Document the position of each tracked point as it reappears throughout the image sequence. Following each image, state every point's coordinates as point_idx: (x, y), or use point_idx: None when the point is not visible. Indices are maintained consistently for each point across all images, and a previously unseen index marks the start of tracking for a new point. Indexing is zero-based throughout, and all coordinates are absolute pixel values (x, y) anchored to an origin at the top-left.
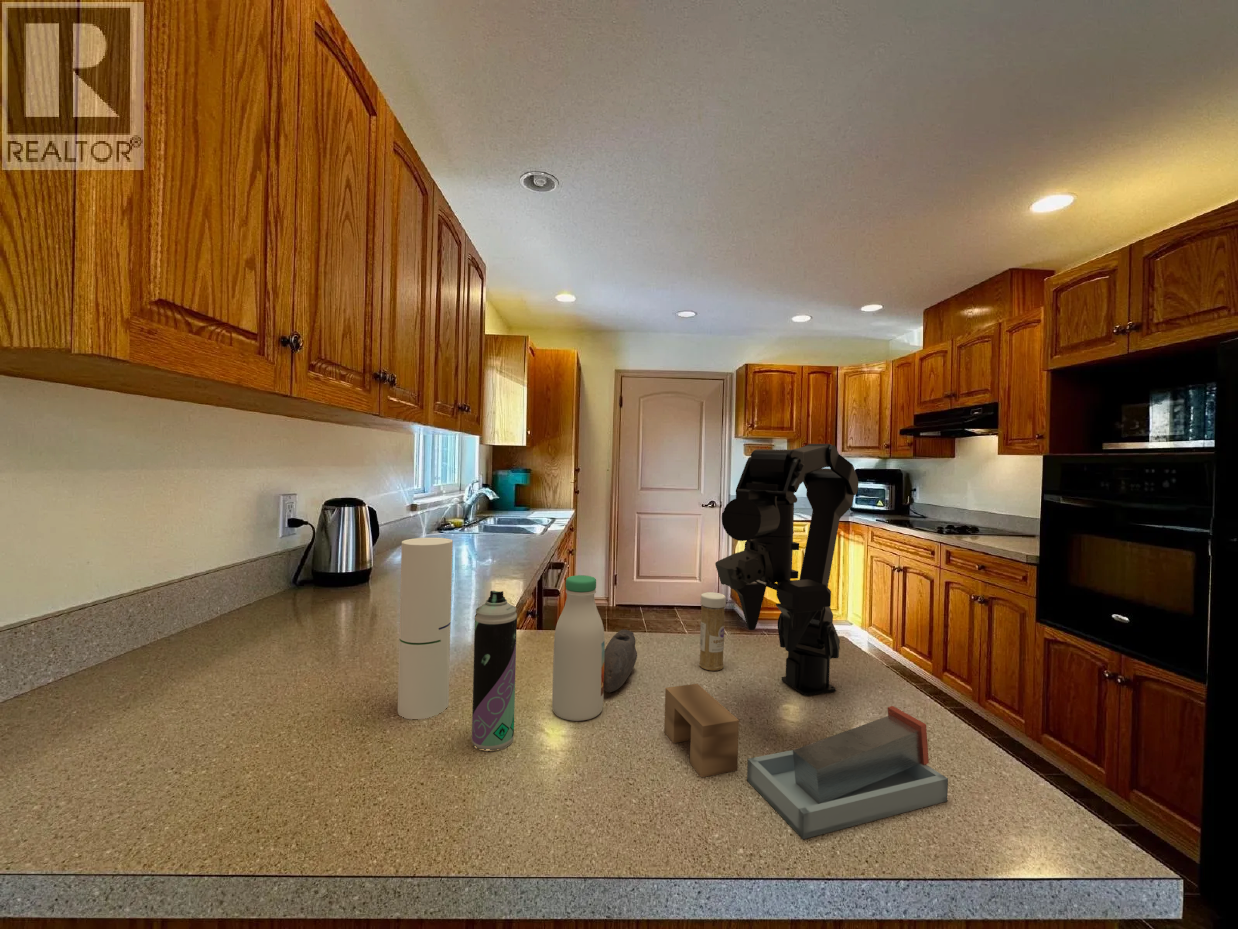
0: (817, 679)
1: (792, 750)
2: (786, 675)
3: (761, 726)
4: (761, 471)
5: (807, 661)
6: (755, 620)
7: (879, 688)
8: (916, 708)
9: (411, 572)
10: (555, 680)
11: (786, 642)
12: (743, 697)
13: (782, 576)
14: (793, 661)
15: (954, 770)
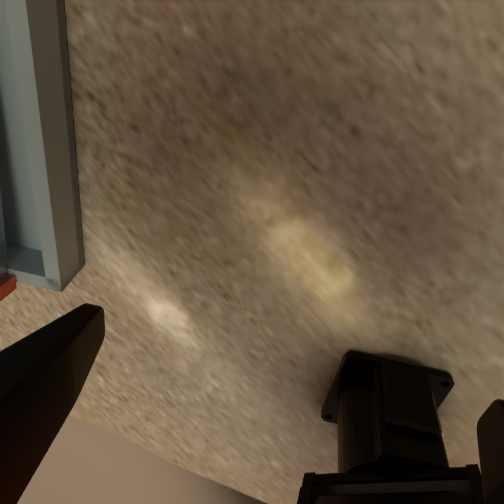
0: (341, 410)
1: (23, 4)
2: (425, 383)
3: (297, 122)
4: None
5: (365, 444)
6: (495, 487)
7: (283, 471)
8: (194, 448)
9: None
10: None
11: (51, 334)
12: (466, 216)
13: None
14: (406, 427)
15: (9, 321)
